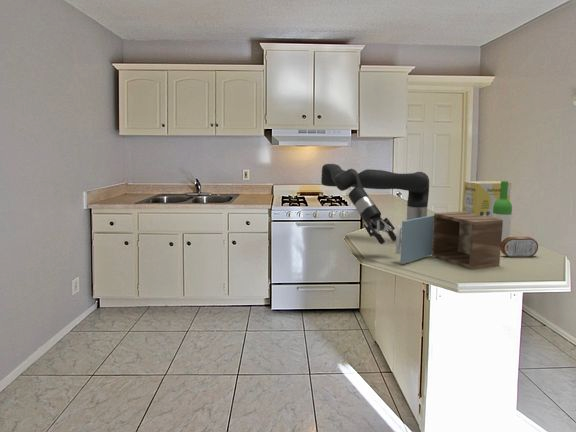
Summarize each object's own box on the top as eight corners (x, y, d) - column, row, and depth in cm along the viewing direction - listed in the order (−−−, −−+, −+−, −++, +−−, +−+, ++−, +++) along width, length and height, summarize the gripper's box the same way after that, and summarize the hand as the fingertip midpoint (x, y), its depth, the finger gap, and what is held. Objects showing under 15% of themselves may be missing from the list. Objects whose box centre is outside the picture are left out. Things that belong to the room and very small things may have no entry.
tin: (534, 255, 191) (536, 236, 190) (538, 257, 188) (540, 237, 187) (499, 255, 191) (500, 236, 190) (502, 257, 188) (504, 237, 186)
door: (419, 252, 193) (421, 214, 190) (431, 254, 189) (434, 215, 186) (390, 260, 179) (392, 219, 176) (403, 263, 174) (405, 221, 172)
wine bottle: (491, 244, 212) (496, 180, 208) (509, 246, 208) (515, 181, 203) (488, 247, 206) (493, 181, 201) (507, 249, 202) (513, 182, 197)
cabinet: (431, 255, 190) (434, 213, 187) (458, 252, 195) (460, 211, 192) (471, 269, 170) (474, 222, 167) (499, 265, 175) (503, 219, 172)
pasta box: (492, 235, 232) (496, 181, 227) (506, 240, 222) (511, 182, 217) (460, 237, 227) (464, 181, 223) (473, 241, 217) (477, 183, 213)
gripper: (372, 213, 195) (393, 244, 189) (351, 217, 186) (372, 249, 179) (383, 202, 190) (405, 234, 184) (362, 205, 181) (384, 238, 175)
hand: (389, 241), depth 182 cm, fingers open, 8 cm apart
